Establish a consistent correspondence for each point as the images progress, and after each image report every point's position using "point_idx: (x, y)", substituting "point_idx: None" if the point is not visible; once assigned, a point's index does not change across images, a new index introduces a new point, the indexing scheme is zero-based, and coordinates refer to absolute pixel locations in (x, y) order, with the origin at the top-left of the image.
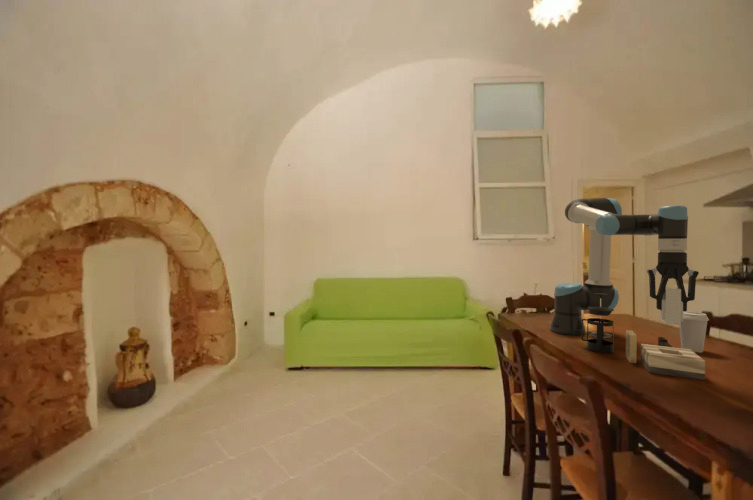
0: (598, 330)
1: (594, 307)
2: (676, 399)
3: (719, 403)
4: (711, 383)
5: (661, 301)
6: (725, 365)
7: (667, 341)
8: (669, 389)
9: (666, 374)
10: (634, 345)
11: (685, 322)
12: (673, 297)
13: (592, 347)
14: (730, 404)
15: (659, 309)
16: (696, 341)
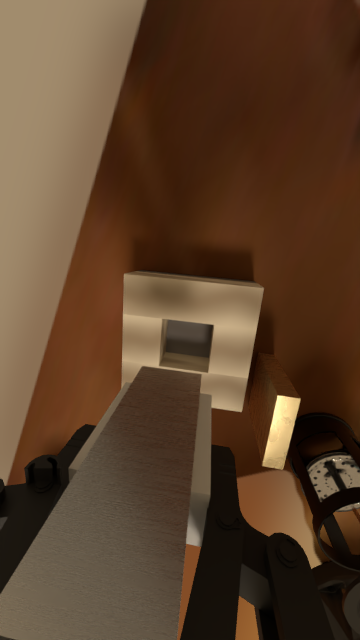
0: None
1: None
2: (269, 55)
3: (170, 85)
4: (134, 251)
5: (210, 500)
6: (63, 402)
7: None
8: (254, 144)
9: (215, 277)
10: (274, 377)
11: None
12: (122, 505)
13: (351, 431)
14: (147, 91)
15: (221, 447)
16: None
